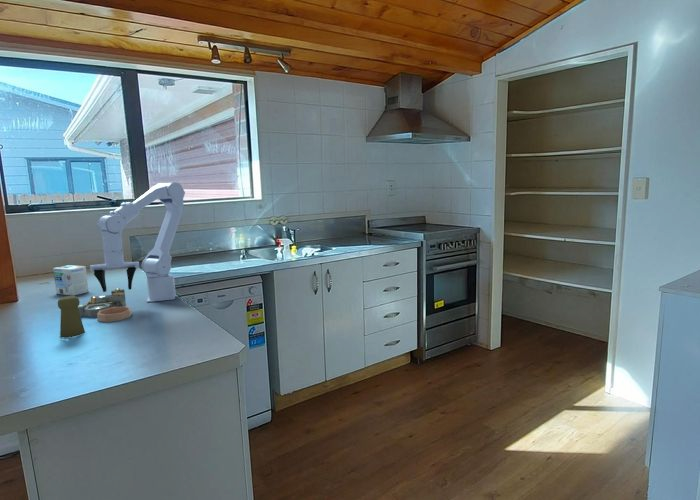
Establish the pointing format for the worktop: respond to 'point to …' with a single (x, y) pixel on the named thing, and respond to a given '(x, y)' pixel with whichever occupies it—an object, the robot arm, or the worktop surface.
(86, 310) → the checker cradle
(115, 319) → the cup
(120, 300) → the cell
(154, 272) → the robot arm
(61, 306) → the cork
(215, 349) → the worktop surface
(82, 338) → the worktop surface
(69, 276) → the light bulb box
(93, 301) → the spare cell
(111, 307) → the trough
